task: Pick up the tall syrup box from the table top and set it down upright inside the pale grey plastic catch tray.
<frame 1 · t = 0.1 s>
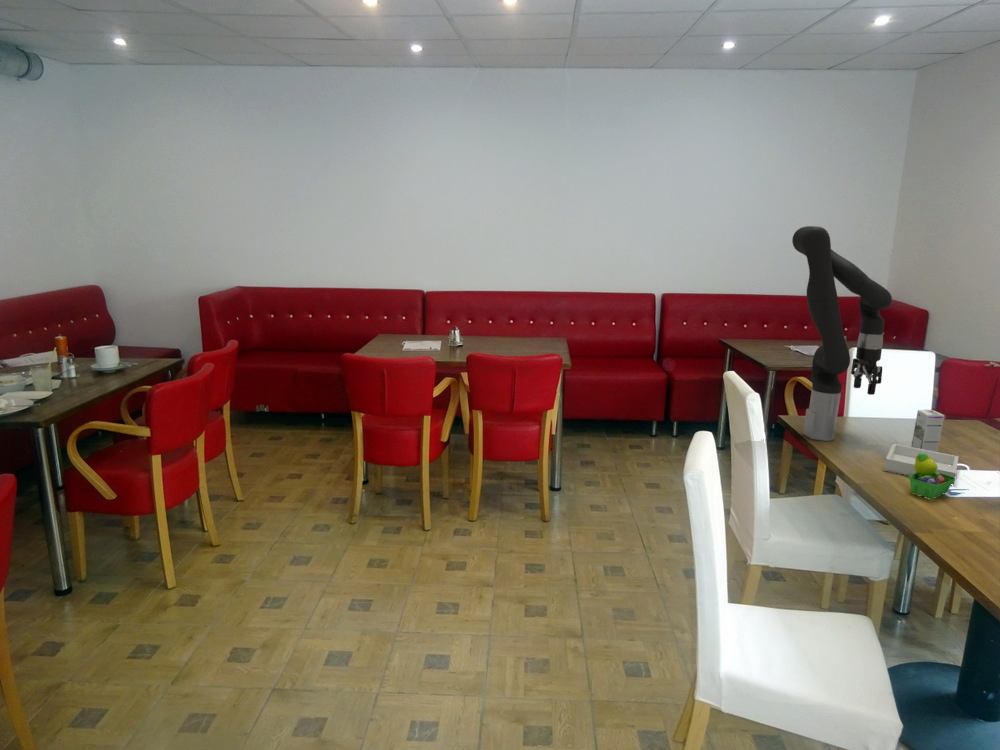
hand: (863, 391, 229), 17 cm above the table, tool pointing down, fingers open, 8 cm apart
fruit basket: (926, 493, 186), on the table
syrup box: (923, 453, 219), on the table
catch tray: (920, 469, 204), on the table
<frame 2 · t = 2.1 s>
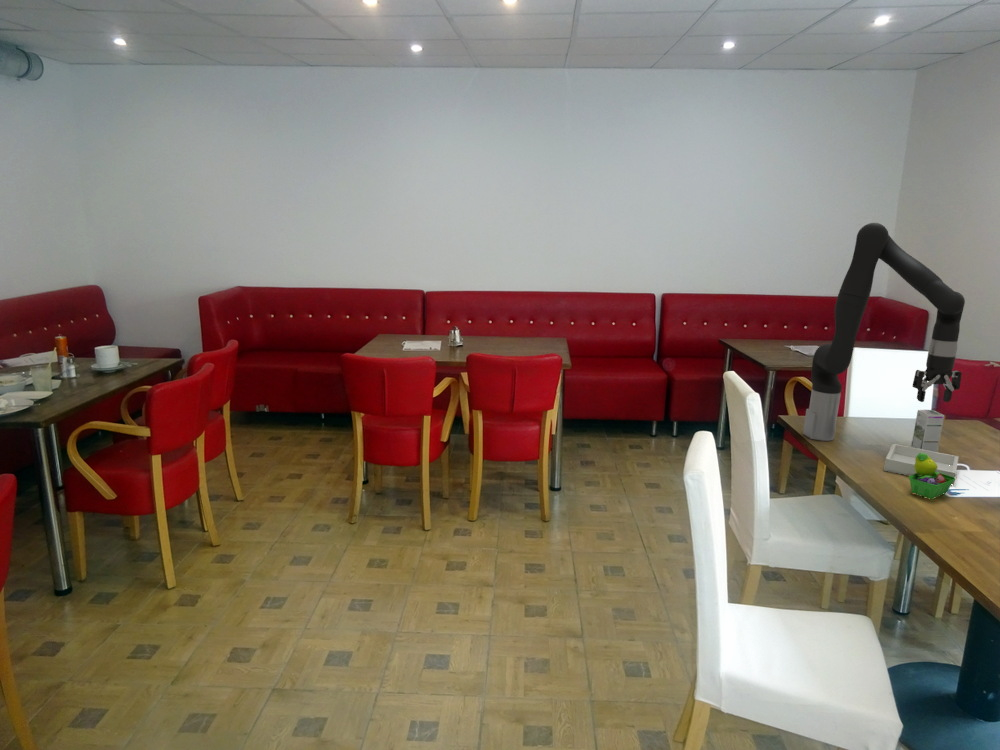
hand: (933, 401, 215), 18 cm above the table, tool pointing down, fingers open, 8 cm apart
nothing on the table moved.
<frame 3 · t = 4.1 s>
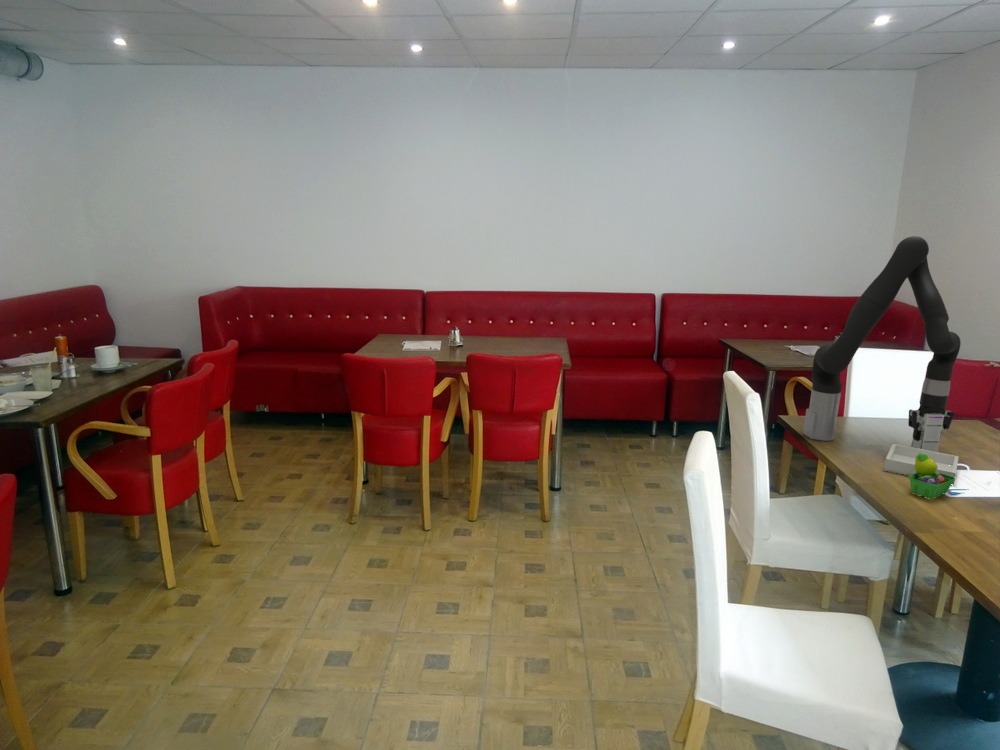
hand: (926, 440, 218), 5 cm above the table, tool pointing down, fingers closed on syrup box, 6 cm apart
syrup box: (923, 453, 219), on the table, touching gripper
everything else where it was.
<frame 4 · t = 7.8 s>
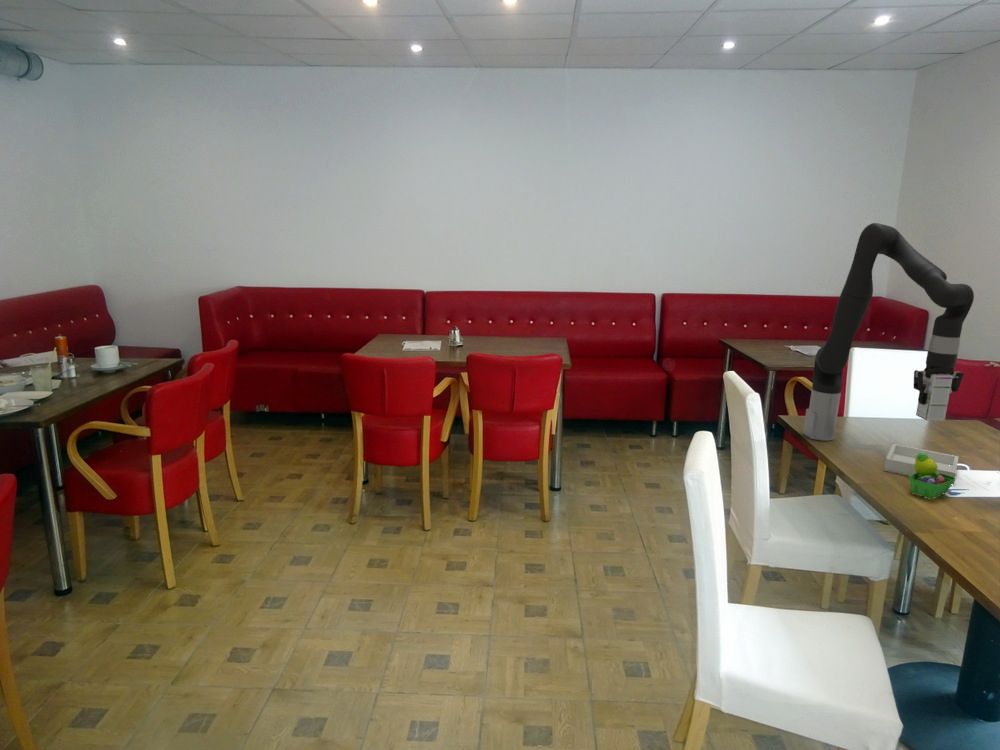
hand: (932, 404, 199), 21 cm above the table, tool pointing down, fingers closed on syrup box, 6 cm apart
syrup box: (929, 419, 200), point 17 cm above the table, touching gripper
everything else where it was.
when the fingers open (7 cm above the table, at t = 11.3 s): syrup box drops 1 cm, resting on catch tray.
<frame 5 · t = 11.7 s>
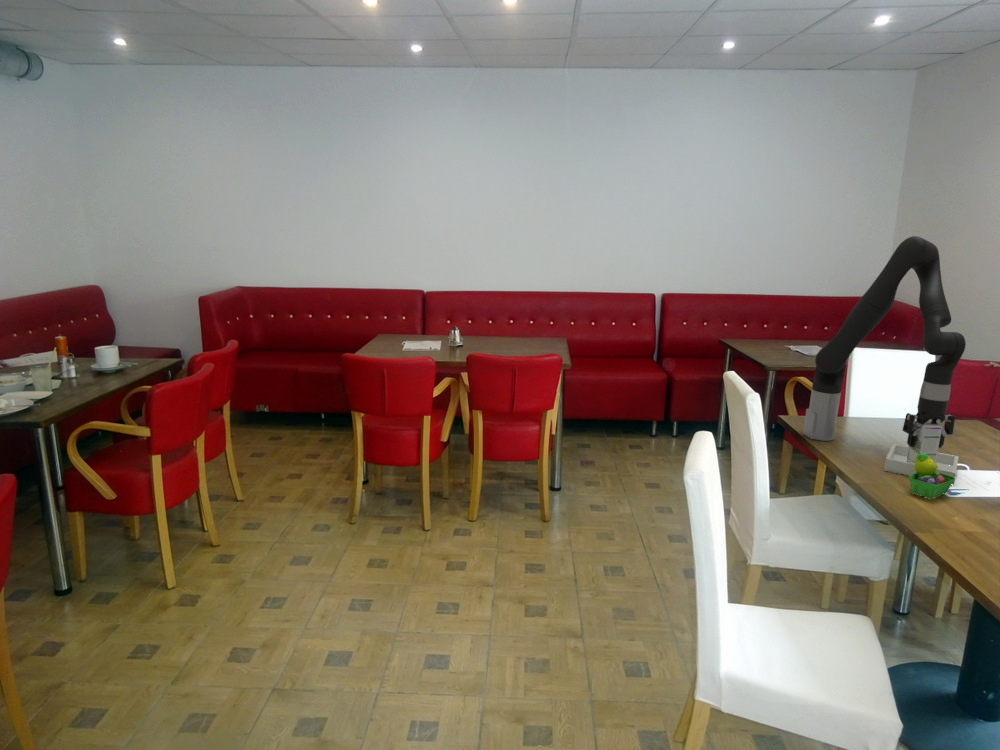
hand: (924, 446, 202), 8 cm above the table, tool pointing down, fingers open, 8 cm apart
syrup box: (919, 467, 204), point 1 cm above the table, touching catch tray
everything else where it was.
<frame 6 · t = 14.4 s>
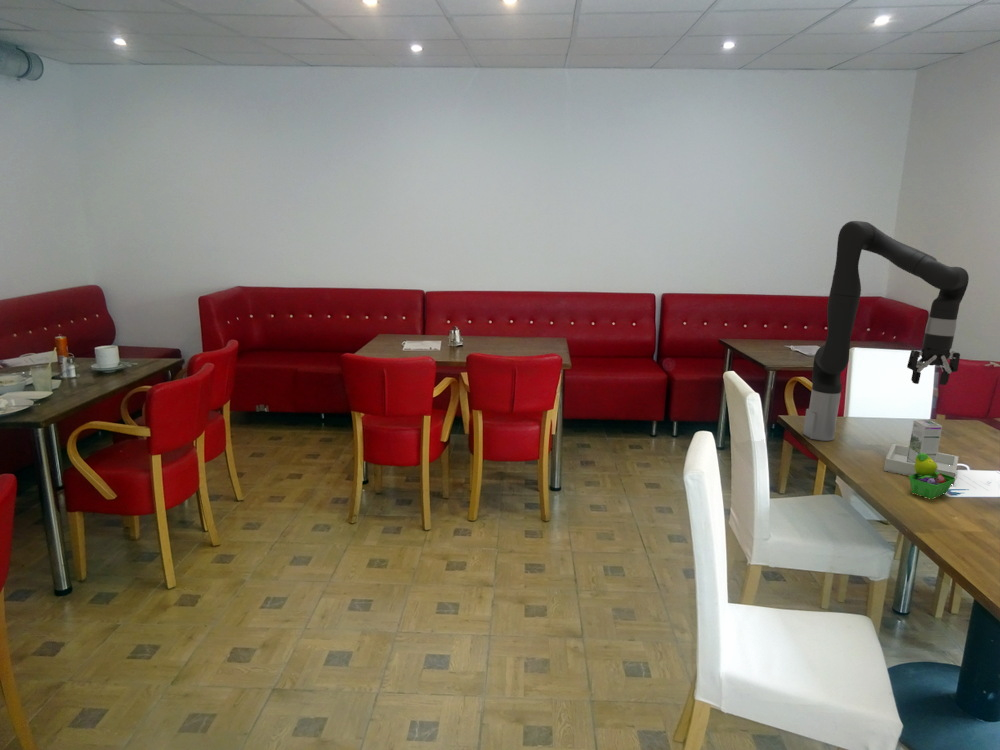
hand: (928, 383, 202), 27 cm above the table, tool pointing down, fingers open, 8 cm apart
nothing on the table moved.
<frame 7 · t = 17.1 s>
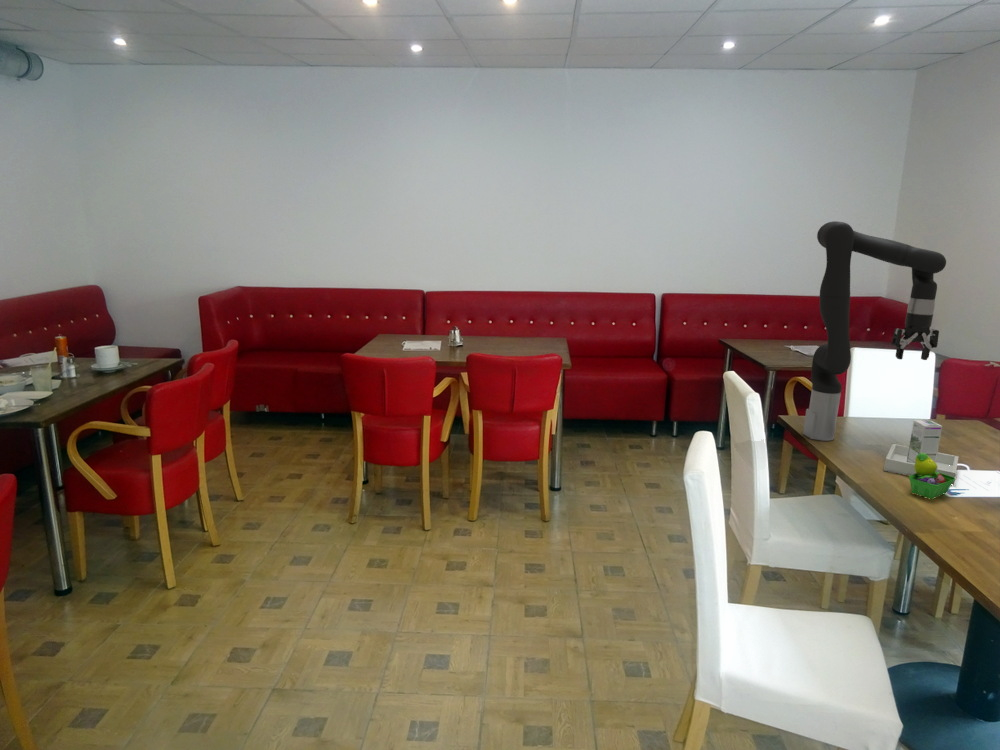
hand: (911, 359, 221), 30 cm above the table, tool pointing down, fingers open, 8 cm apart
nothing on the table moved.
at the end: syrup box 0.3 cm from the catch tray (horizontally); syrup box tilted 0°; the gripper is holding nothing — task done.
